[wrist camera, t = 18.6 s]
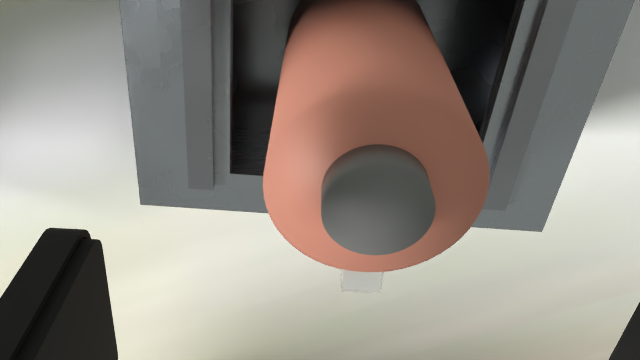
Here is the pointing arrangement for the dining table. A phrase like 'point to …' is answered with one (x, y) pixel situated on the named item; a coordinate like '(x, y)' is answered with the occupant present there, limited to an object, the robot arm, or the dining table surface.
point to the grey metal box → (264, 75)
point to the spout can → (370, 142)
